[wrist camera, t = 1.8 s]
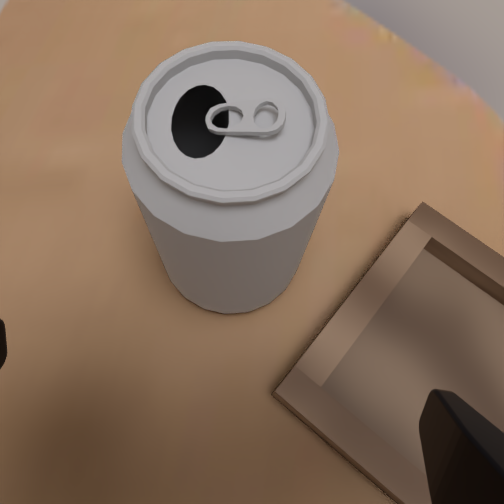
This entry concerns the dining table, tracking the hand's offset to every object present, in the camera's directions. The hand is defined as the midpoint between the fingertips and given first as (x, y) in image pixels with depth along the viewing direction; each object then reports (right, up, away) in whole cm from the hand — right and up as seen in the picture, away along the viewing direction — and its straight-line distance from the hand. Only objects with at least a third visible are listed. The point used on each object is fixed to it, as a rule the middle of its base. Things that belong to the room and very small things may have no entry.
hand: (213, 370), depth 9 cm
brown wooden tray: (+11, -4, +13) cm, 18 cm away
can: (0, +2, +16) cm, 16 cm away
